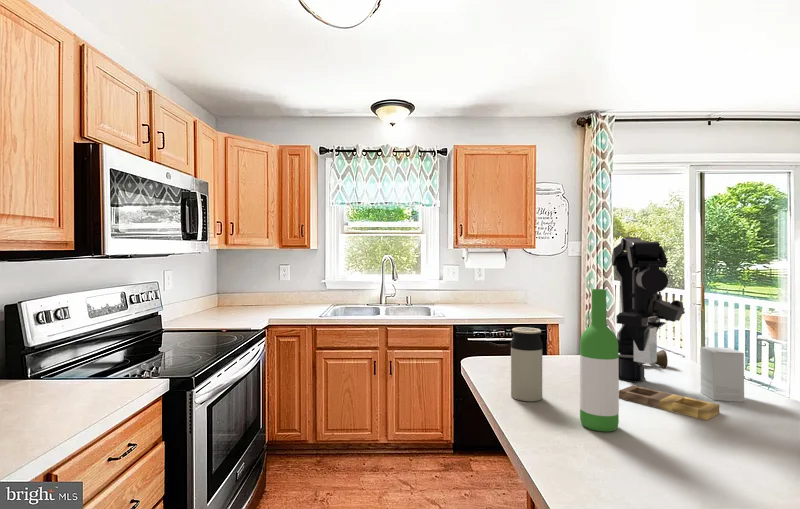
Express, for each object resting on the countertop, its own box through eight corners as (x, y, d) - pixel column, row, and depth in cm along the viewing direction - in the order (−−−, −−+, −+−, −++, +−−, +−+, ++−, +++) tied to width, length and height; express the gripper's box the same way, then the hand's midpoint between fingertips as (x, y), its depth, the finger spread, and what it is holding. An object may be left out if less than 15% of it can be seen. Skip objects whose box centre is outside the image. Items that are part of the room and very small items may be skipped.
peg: (633, 361, 115) (633, 326, 115) (640, 359, 117) (640, 325, 117) (649, 364, 112) (649, 328, 112) (656, 361, 114) (656, 327, 114)
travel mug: (546, 402, 112) (546, 331, 112) (515, 402, 112) (515, 331, 113) (537, 392, 120) (537, 327, 120) (507, 392, 120) (507, 326, 120)
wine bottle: (572, 425, 97) (572, 289, 97) (591, 417, 102) (591, 287, 102) (607, 436, 91) (607, 291, 91) (625, 427, 96) (625, 289, 96)
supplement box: (745, 402, 113) (745, 352, 113) (712, 400, 114) (712, 351, 114) (729, 393, 120) (729, 347, 120) (699, 392, 121) (699, 346, 122)
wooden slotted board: (618, 398, 116) (618, 390, 116) (633, 392, 121) (633, 385, 121) (706, 420, 100) (706, 411, 100) (719, 412, 105) (719, 404, 105)
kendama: (655, 360, 162) (672, 371, 143) (626, 359, 165) (639, 370, 146) (654, 343, 162) (671, 353, 143) (625, 343, 165) (638, 352, 146)
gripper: (662, 293, 103) (662, 360, 102) (694, 290, 114) (694, 350, 114) (615, 290, 111) (615, 352, 111) (648, 287, 123) (648, 343, 123)
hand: (645, 349), depth 114 cm, fingers closed on peg, 4 cm apart
